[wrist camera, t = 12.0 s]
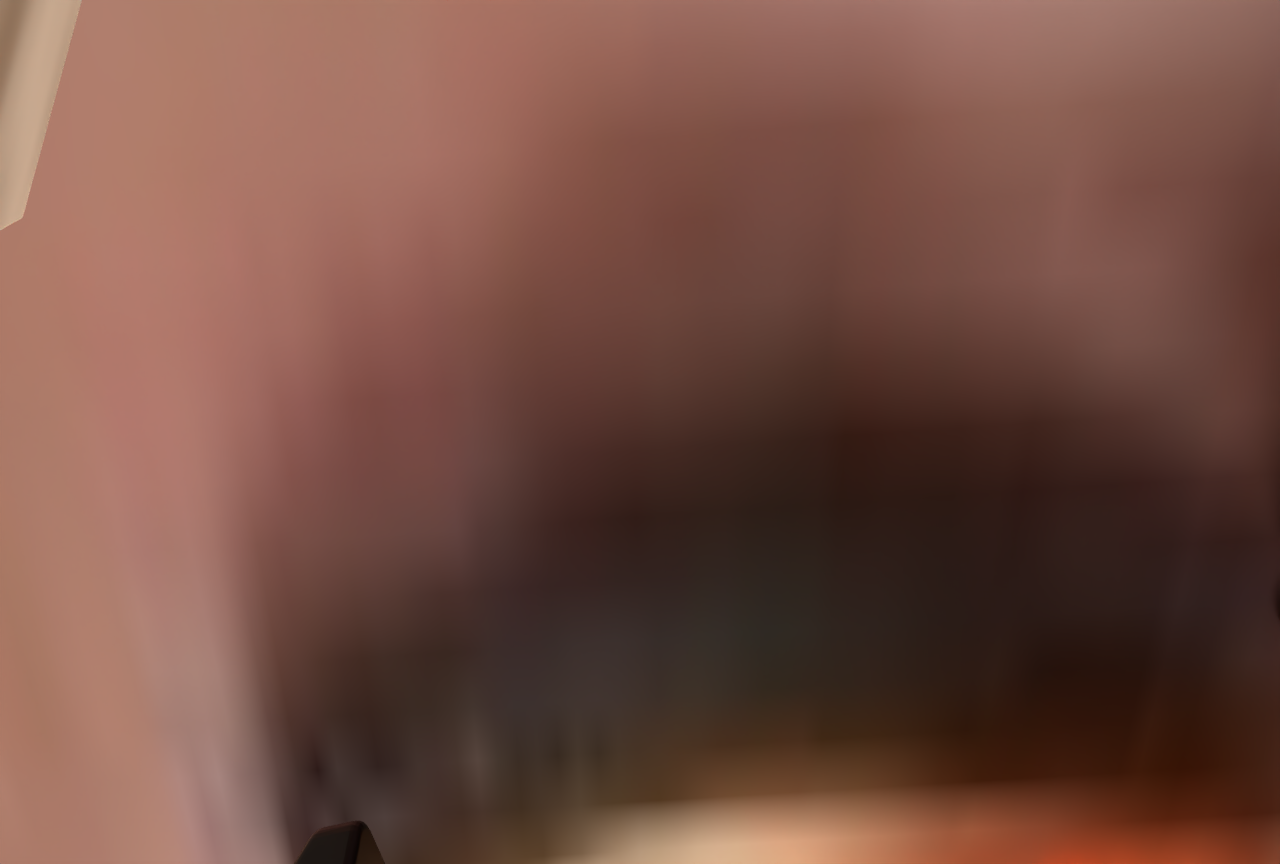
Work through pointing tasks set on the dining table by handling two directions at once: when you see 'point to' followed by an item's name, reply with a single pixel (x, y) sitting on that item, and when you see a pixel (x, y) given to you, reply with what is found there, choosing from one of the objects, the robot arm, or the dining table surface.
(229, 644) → the dining table surface
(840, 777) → the dining table surface
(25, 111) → the maple block
